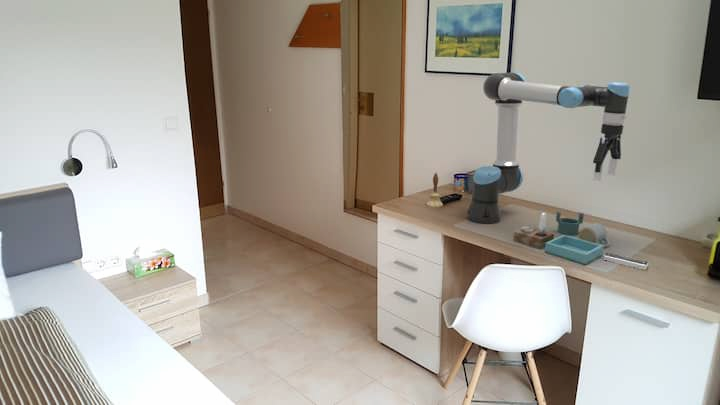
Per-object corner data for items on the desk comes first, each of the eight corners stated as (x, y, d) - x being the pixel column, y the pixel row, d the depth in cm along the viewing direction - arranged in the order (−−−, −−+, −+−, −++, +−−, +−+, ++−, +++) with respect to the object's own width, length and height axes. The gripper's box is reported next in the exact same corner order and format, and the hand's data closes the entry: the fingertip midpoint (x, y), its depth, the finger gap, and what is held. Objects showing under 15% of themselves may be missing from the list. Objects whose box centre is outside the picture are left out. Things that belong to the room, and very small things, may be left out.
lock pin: (534, 243, 215) (538, 213, 211) (538, 242, 217) (542, 211, 213) (541, 245, 213) (544, 214, 209) (544, 244, 215) (548, 213, 211)
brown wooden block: (513, 240, 218) (514, 229, 217) (526, 235, 225) (527, 224, 223) (540, 249, 210) (541, 237, 208) (553, 243, 216) (554, 231, 215)
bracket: (582, 233, 228) (585, 213, 226) (568, 236, 224) (571, 216, 221) (565, 227, 236) (568, 207, 233) (551, 230, 231) (553, 210, 229)
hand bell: (440, 208, 260) (442, 176, 256) (423, 205, 264) (425, 174, 259) (445, 203, 268) (446, 172, 263) (429, 201, 271) (430, 170, 267)
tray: (544, 252, 206) (545, 242, 205) (562, 244, 215) (563, 234, 214) (585, 264, 195) (586, 254, 194) (602, 255, 204) (603, 245, 203)
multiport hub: (645, 271, 191) (646, 265, 190) (602, 261, 200) (603, 255, 199) (647, 267, 194) (649, 261, 194) (605, 257, 203) (606, 252, 202)
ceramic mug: (577, 241, 218) (579, 224, 216) (587, 237, 223) (590, 220, 221) (601, 250, 210) (604, 231, 208) (612, 245, 215) (615, 227, 213)
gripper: (609, 128, 194) (600, 184, 201) (635, 122, 211) (626, 174, 217) (589, 125, 200) (581, 180, 206) (616, 119, 216) (607, 171, 222)
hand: (604, 177), depth 211 cm, fingers open, 13 cm apart
